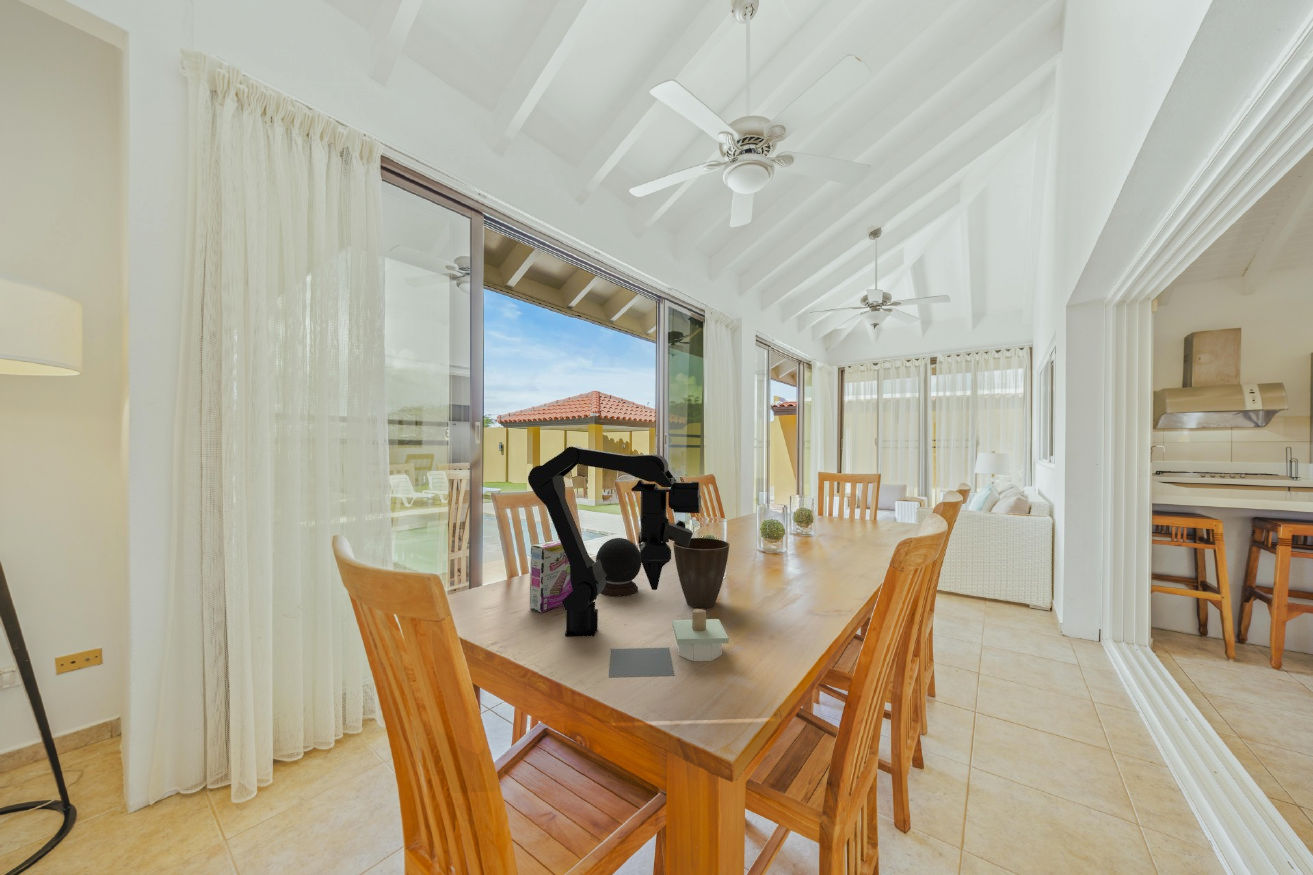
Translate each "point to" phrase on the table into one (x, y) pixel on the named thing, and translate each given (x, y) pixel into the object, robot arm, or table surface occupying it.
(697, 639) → the lid
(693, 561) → the plant pot
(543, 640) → the table surface
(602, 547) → the black ball on stand
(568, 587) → the candy bar box
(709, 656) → the bowl
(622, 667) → the mat
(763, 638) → the table surface
